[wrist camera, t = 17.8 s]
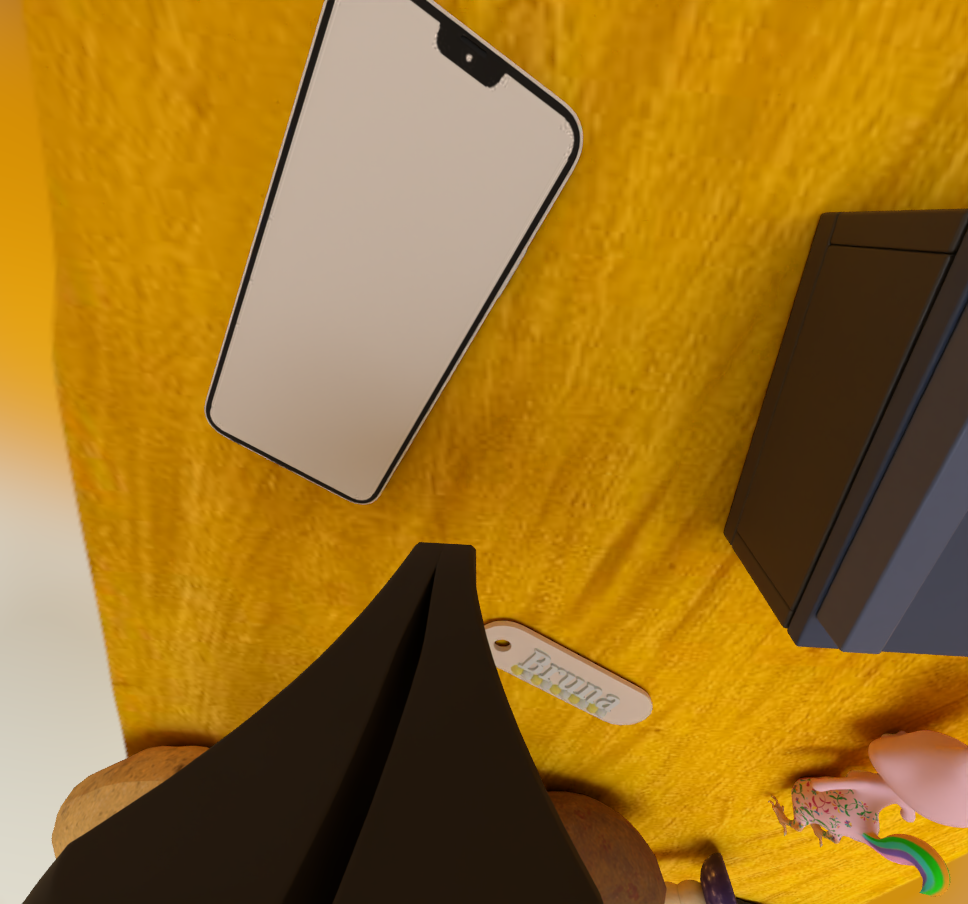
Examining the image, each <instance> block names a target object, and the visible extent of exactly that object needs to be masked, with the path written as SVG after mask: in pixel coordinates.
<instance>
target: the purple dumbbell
mask: <svg viewBox="0 0 968 904" xmlns="http://www.w3.org/2000/svg"><path fill="white" fill-rule="evenodd" d="M700 876H701V878H700V881H701V883H699V882H697V881H695V880H684V881H681V882H680V883H679V884H674V883H672V882H665V885H666V888H667V891H666V898H665V904H737V901H736V898H735V895H734V892H733V888H732V885H731V882H730V879H729V876H728V873H727V870H726V867H725V863H724V861H723V858H722V855H721V853H719V852H717V853H715V854H712V855H710V856H709V857H707V859H705V861H704V863H703V865H702V868H701V875H700Z"/></svg>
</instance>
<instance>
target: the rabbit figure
mask: <svg viewBox="0 0 968 904" xmlns="http://www.w3.org/2000/svg"><path fill="white" fill-rule="evenodd" d="M868 755H869V758H870V761H871V763H872V765H873V766H874V768H875V769H876V771H877V772H878V773H877V774H875V773H871V772H868V771H864V770H850V771H849V772H848V773H847V775H846V777H842V778H836V777H831V776H824V777H805V778H800V779H798V780H797V781H796V782H795V784H794V785H793V787H792V802H793V810H794V820H789V819H788V818H787V817H786V816H785V814H784V813H783V812H784V806H783V805H782V807H781V806H780V804H779V803H778V800H777V799H776V798H775V797H774V796H772V795H771V796H772V797H773V798H774V799H775V800H776V804H775V805H774V803H773V802H772V801H770V800H769V801H768V802H771V803H772V805H773V806H772V808H773V810H774V811H775V813H776V815H777V817H778V820H779V822H780V824H781V825H782V826H783V827H784V836H785V835H786V833H787V831H786V825H788V826H790V827H792V828H794V829H795V830H797V831H802V830H803V828H804V827H805V826H806V825H808V824H811V826H812V828H813V830H814V833H815V835H816V836H817V837H818V838H819V840H820V847H821V846H822V837H821V836H823V837H825V838H827V839H829V840H831V841H832V842H834V843H836V844H837V843H839V842H840V839H841V837H842V836H847V837H850V838H852V839H854V840H856V841H859V842H863V843H865V844H867V845H869V846H870V847H872V848H873V849H875V850H876V851H877V852H878V853H880V854H881V855H882V856H884V857H885V858H887V859H888V860H891V861H893V862H896V863H899V864H904V865H913V866H915V867H916V868H917V869H918V870H919V872H920V874H921V876H922V878H923V887H922V890H921V892H920V893H922V894H926V895H929V896H940V895H942V894H944V893H945V892H946V890H948V887H949V885H950V874H949V870H948V868H947V866H946V864H945V862H944V861H943V859H942V858H941V856H940V855H939V854H938V853H937V852H936V850H935V849H933V848H932V847H931V846H930V845H929V844H927V843H926V842H924V841H922V840H921V839H918V838H916V837H914V836H910V835H905V834H893V835H890V836H887V837H885V838H882V839H881V838H879V837H878V836H877V835H878V833H879V820H878V814H879V812H880V811H881V810H882V809H883V808H884V807H886V806H888V805H891V804H898V805H899V806H901V808H902V809H901V811H900V814H901V816H902V818H903V819H904V820H906V821H908V822H913V821H914V820H915V811H916V812H917V813H919V814H920V815H922V816H923V817H925V818H927V819H929V820H931V821H934V822H936V823H939V824H943V825H947V826H952V827H962V828H966V827H968V746H967V745H966V744H964V743H962V742H961V741H959V740H957V739H955V738H953V737H950V736H948V735H945V734H942V733H939V732H935V731H930V730H921V731H915V732H911V733H906V732H905V731H902V730H900V731H899V732H898V733H897V734H882V736H881V738H878V739H875V740H873V741H872V742H871V743H870V745H869V747H868ZM785 824H786V825H785ZM820 825H821V826H822V827H824V828H825V829H827V830H828V831H827V832H826V831H823V830H822V829H821V827H820Z"/></svg>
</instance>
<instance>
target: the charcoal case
mask: <svg viewBox="0 0 968 904" xmlns="http://www.w3.org/2000/svg"><path fill="white" fill-rule="evenodd" d="M967 229H968V209H937V210H901V211H865V212H829V213H823V214H822V215H821V218H820V221H819V224H818V228H817V231H816V234H815V238H814V241H813V244H812V247H811V251H810V254H809V257H808V260H807V264H806V267H805V270H804V273H803V277H802V280H801V283H800V286H799V290H798V293H797V296H796V299H795V303H794V306H793V309H792V312H791V316H790V319H789V322H788V325H787V329H786V332H785V335H784V338H783V342H782V345H781V348H780V351H779V355H778V358H777V361H776V364H775V368H774V371H773V374H772V377H771V381H770V384H769V387H768V390H767V394H766V397H765V400H764V403H763V407H762V410H761V413H760V416H759V420H758V423H757V426H756V429H755V433H754V436H753V439H752V442H751V446H750V449H749V452H748V455H747V459H746V462H745V465H744V468H743V472H742V475H741V478H740V481H739V485H738V488H737V491H736V494H735V498H734V501H733V504H732V507H731V511H730V514H729V517H728V520H727V524H726V527H725V530H724V535H725V537H726V538H727V540H728V542H729V543H730V545H732V548H733V549H734V551H735V552H736V554H737V556H738V557H739V559H740V560H741V562H742V563H743V565H744V567H745V568H746V570H747V571H748V573H749V574H750V576H751V578H752V579H753V581H754V582H755V584H756V585H757V587H758V589H759V590H760V592H761V593H762V595H763V596H764V598H765V600H766V601H767V603H768V604H769V606H770V607H771V609H772V611H773V612H774V614H775V615H776V617H777V618H778V620H779V622H780V623H781V625H782V626H783V627H784V628H788V627H789V625H790V623H791V621H792V618H793V616H794V614H795V612H796V609H797V607H798V605H799V603H800V601H801V598H802V596H803V594H804V592H805V589H806V587H807V585H808V583H809V581H810V578H811V576H812V574H813V572H814V569H815V567H816V565H817V563H818V561H819V558H820V556H821V554H822V552H823V549H824V547H825V545H826V543H827V541H828V538H829V536H830V534H831V532H832V529H833V527H834V525H835V523H836V521H837V518H838V516H839V514H840V512H841V509H842V507H843V505H844V503H845V501H846V498H847V496H848V494H849V492H850V489H851V487H852V485H853V483H854V481H855V478H856V476H857V474H858V472H859V469H860V467H861V465H862V463H863V461H864V458H865V456H866V454H867V452H868V449H869V447H870V445H871V443H872V441H873V438H874V436H875V434H876V432H877V429H878V427H879V425H880V423H881V420H882V418H883V416H884V414H885V412H886V409H887V407H888V405H889V403H890V400H891V398H892V396H893V394H894V392H895V389H896V387H897V385H898V383H899V380H900V378H901V376H902V374H903V372H904V369H905V367H906V365H907V363H908V360H909V358H910V356H911V354H912V352H913V349H914V347H915V345H916V343H917V340H918V338H919V336H920V334H921V332H922V329H923V327H924V325H925V323H926V320H927V318H928V316H929V314H930V312H931V309H932V307H933V305H934V303H935V300H936V298H937V296H938V294H939V292H940V289H941V287H942V285H943V283H944V280H945V278H946V276H947V274H948V272H949V269H950V267H951V265H952V263H953V260H954V258H955V256H956V254H957V252H958V249H959V247H960V245H961V243H962V240H963V238H964V236H965V234H966V231H967Z"/></svg>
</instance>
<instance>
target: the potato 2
mask: <svg viewBox="0 0 968 904" xmlns="http://www.w3.org/2000/svg"><path fill="white" fill-rule="evenodd" d="M548 794H549V796H550V798H551V800H552V802H553V804H554V806H555V808H556V810H557V812H558V815H559V817H560V819H561V821H562V823H563V825H564V827H565V828H566V830H567V832H568V834H569V836H570V838H571V840H572V842H573V844H574V846H575V848H576V849H577V851H578V853H579V855H580V857H581V859H582V861H583V863H584V864H585V866H586V868H587V870H588V872H589V874H590V875H591V877H592V879H593V881H594V883H595V885H596V886H597V888H598V890H599V892H600V894H601V897H602V900H603V903H604V904H665V898H666V891H667V888H666V885H665V882H664V880H663V877H662V874H661V871H660V868H659V865H658V862H657V859H656V857H655V855H654V854H653V852H652V850H651V849H650V847H649V846H648V844H647V843H646V842H645V840H644V839H643V837H642V836H641V835H640V833H639V832H638V831H637V830H636V829H635V828H634V827H633V825H632V824H631V823H630V822H629V821H627V820H626V819H625V818H624V817H623V816H621V815H620V814H619V813H618V812H616V811H614V810H613V809H611V808H610V807H608V806H606V805H605V804H603V803H602V802H600V801H597V800H595V799H593V798H590V797H588V796H586V795H581V794H577V793H572V792H558V791H551V792H548Z"/></svg>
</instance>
